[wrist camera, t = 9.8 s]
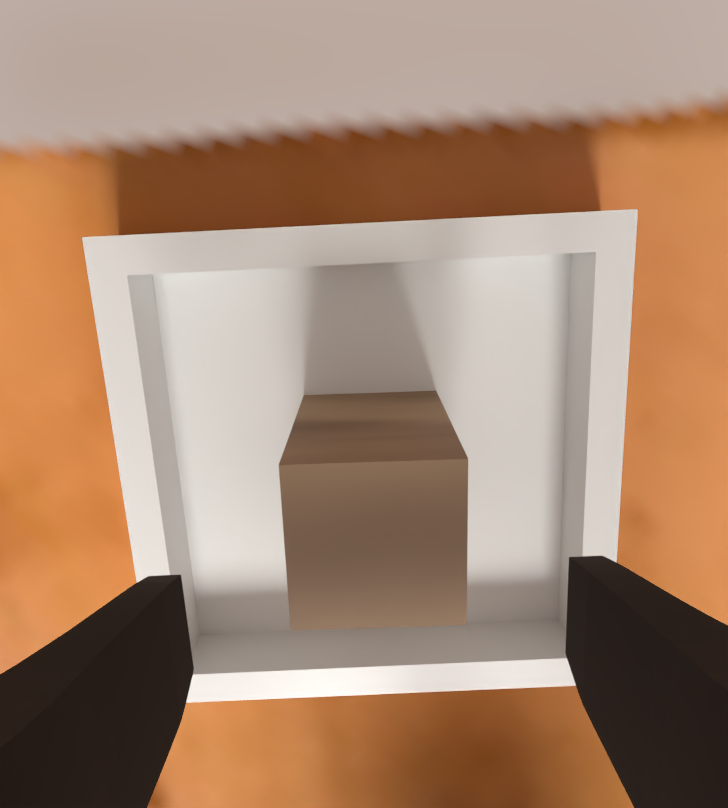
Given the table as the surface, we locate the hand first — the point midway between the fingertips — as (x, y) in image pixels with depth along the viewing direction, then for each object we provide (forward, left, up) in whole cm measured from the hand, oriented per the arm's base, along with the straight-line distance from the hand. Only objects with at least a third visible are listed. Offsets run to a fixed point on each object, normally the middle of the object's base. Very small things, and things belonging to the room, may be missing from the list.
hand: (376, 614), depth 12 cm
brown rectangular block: (0, 0, -8) cm, 8 cm away
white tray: (0, 0, -9) cm, 9 cm away
